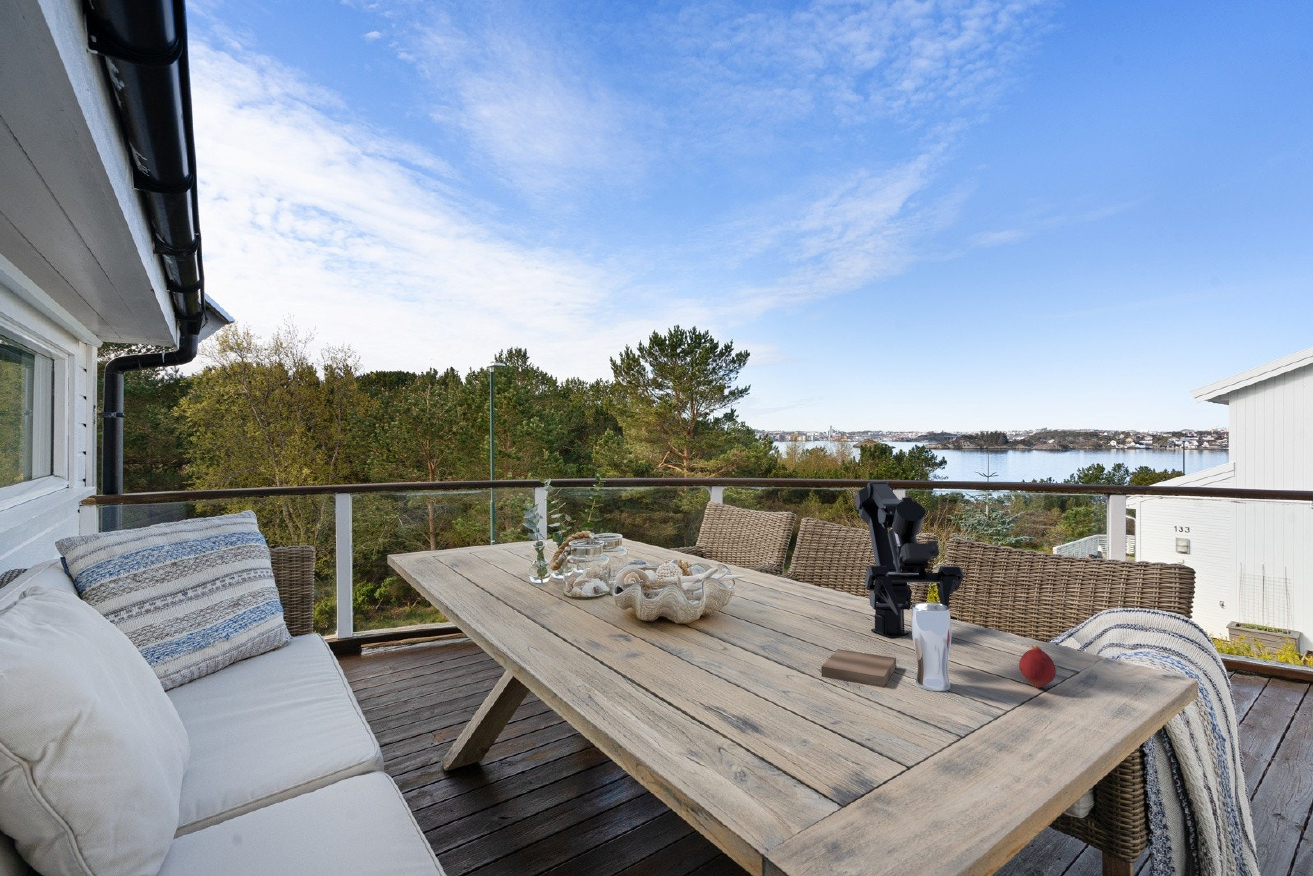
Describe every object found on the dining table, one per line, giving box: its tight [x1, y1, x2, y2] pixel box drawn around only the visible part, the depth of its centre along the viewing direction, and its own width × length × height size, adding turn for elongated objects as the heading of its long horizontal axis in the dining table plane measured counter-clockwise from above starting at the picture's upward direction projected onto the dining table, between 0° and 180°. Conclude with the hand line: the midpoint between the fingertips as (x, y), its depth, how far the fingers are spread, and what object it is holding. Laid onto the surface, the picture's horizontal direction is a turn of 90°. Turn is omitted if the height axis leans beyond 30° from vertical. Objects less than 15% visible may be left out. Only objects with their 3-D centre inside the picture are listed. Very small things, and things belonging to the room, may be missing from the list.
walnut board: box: [821, 648, 897, 688], centre depth 126 cm, size 12×12×2 cm
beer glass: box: [911, 602, 952, 692], centre depth 119 cm, size 7×7×15 cm
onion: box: [1018, 644, 1057, 689], centre depth 116 cm, size 6×6×8 cm
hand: (922, 614), depth 124 cm, fingers open, 9 cm apart
